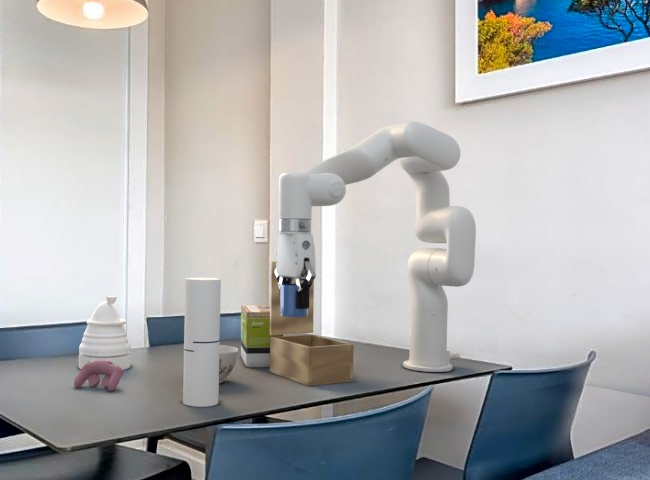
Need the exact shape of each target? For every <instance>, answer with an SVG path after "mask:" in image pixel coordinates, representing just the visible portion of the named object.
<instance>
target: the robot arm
mask: <svg viewBox="0 0 650 480" xmlns="http://www.w3.org/2000/svg"><path fill="white" fill-rule="evenodd" d="M460 159H461V147H460V145H459V143H458V142H457V140H456V139H454V137H452V136H451V135H449V134H447V133H445V132H443V131H441V130H438V129H437V128H434V127H432V126H430V125H427V124H425V123H423V122H419V121H406V122H401V123H393V124H388V125H385V126H383V127H381V128H380V129H378V130H377V131H375V132H374V133H372V134H370V135H368V136H367V137H365V138H364V139H363V140H361V141H360V142H358V143H357V144H355V145H354V146H352V147H350V148H348V149H346V150H343V151H341V152H339V153H338V154H335V155H333V156H331V157H329V158H327V159H324V160H323V161H320V162H319V163H316V164H315V165H313V166H311V167H310V168H308V169H306V170H305V171H304V172H302V171H292V172H291V171H289V172H284V173H283V172H282V173H281V174H280V175H279V177H278V187H277V188H278V189H277V190H278V191H277V193H278V195H277V197H278V200H277V201H278V202H277V203H278V204H277V207H278V208H277V209H278V211H277V234H278V235H277V243H276V256H275V259H276V260H275V262H276V269H275V271H274V272H275V275H276V277H277V281H278V283H279V284H278V287H279V288H280V284H291V283H292V279H293V278H295V279H296V283H297V288H298V291H296V309H308V308H309V291H310V290H311V285H312V283H313V281H314V282H315V279H316V277H317V274H316V270H317V269H316V268H317V267H316V266H317V265H316V248H315V241H314V235H313V233H312V213H313V212H312V211H313V209H312V207H330V206H335V205H337V204H339V203H341V202H342V200H344V199H345V196H346V193H347V186H348V185H351V184H355V183H359V182H363V181H366V180H368V179H370V178H372V177H373V176H375V175H377V173H379V172H381V170H383V169H384V168H386V167H387V166H389V165H391V164H392V163H393V162H394V161H397V160H398V162H399V165H400V166H401V168H402V169H403V171H404V172H405V173H407V175H408V176H409V178H410V179H411V181H412V182H413V184H414V187H415V219H414V220H415V221H414V225H415V226H414V229H415V230H414V231H415V236H416V238H417V239H418V240H419V241H421V242H423V243H428V244H429V243H430V244H446V248H441V247H439V248H438V247H437V248H436V247H427V248H426V247H425V248H424V247H423V248H420V249H417V250H415V251H413V252H412V253H411V254H410V256H408V260H407V266H406V269H407V276H408V281H409V290H410V292H409V293H410V309H409V315H410V316H409V346H408V347H409V351H408V352H409V354H408V359H407V360H404V361H403V362H402V366H403V368H405V369H407V370H411V371H416V372H423V373H425V372H426V373H448V372H450V371H453V365H452V363H450V362H451V361H452V360H459V359H460V355H461V354H460V353H459V352H458V351H455V352H454V351H453V352H450V350H447V348H448V347H447V346H448V345H447V344H448V310H449V301H448V297H447V294H446V291H445V289H444V288H443V287H457V288H458V287H464V286H466V285H467V284H469V283H470V281H471V280H472V278H473V275H474V270H475V261H476V241H477V240H476V239H477V238H476V237H477V226H476V220H475V217H474V215H473V213H472V212H471V211H470V210H469V209H468V208H466V207H464V206H459V205H453V206H450V205H451V203H450V185H449V183H448V180H447V178H446V177H445V175H444V174H443V172H442V171H449V170H452V169H453V168H455V166H457V165H458V163H459V162H460ZM346 185H347V186H346ZM286 279H288V280H286ZM301 280H304V281H303V283H301ZM279 305H280V289H279Z"/></svg>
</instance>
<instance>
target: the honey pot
mask: <svg viewBox="0 0 650 480" xmlns="http://www.w3.org/2000/svg"><path fill="white" fill-rule="evenodd" d="M117 297H118V296H116V295H107V296H106V297H105V299H106V300H102V302H100V303H99V304H98V305H97V306H96V307H95V309H94V311H92V314H91V316H90V318H89V319H87V320H86V325H87V326H86V328H85V330H84V332H83V337H82V338H81V343H80V344H79V346H78V350H79V351H78V353H79V354H78V369H80V370H81V369H82V367H83V366H84V365H85V364H87V362H88V361H91V362H92V361H97V360H104V361H110V362H112V363H115V364H117V365H118V366H119V367H121V368H122V370H123V371H124V370H127V369H130V368H131V344H130V342H129V338H128V337H127V334H128V333H127V331H126V329H125V327H124V325H126V324H127V320H126V319H125V318H122V317H121V316H120V314H119V312H118V310H117V308H116V307H115V306H114V304H115V303H116V301H117Z"/></svg>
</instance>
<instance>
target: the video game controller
mask: <svg viewBox="0 0 650 480" xmlns="http://www.w3.org/2000/svg"><path fill="white" fill-rule="evenodd" d="M123 374H124V370H122V368H121V367H119V366H118V365H117V364H115V363H112V362H110V361H104V360H97V361H92V362H91V361H88V362H87V364H85V365H84V366H83V367H82V369H80V370H79V372H78V373H77V375H76V377H75V378H74V381H73V386H74V388H76V389H79V388H80V387H82V386H83V385H84V384H85V383H86V382H87V380H88V384H89V385H90V386H92V387H97V386H99V385H100V384H101V386H102V387H104V388H106V389H107V390H108V392H113V391H114V390H115V389H116V388H117V387H118V385H119V383H120V380H121V378H122V377H123ZM100 375H104V376H103V377H102V378H100Z"/></svg>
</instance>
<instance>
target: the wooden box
mask: <svg viewBox="0 0 650 480" xmlns="http://www.w3.org/2000/svg"><path fill="white" fill-rule="evenodd" d="M354 349H355V347H354V344H353V343H350V342H345V341H341V340H338V339H337V340H336V339H332V338H329V337H324V336H321V335H316V334H294V335H283V336H278V337H270V367H269V372H270V373H272V374H275V375H277V376H280V377H283V378H285V379H287V380H290V381H294V382H296V383H299V384H302V385H304V386H308V387H311V386H323V385H330V384H331V385H332V384H341V383H343V384H344V383H351V382H352V383H353V382H354Z"/></svg>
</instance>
